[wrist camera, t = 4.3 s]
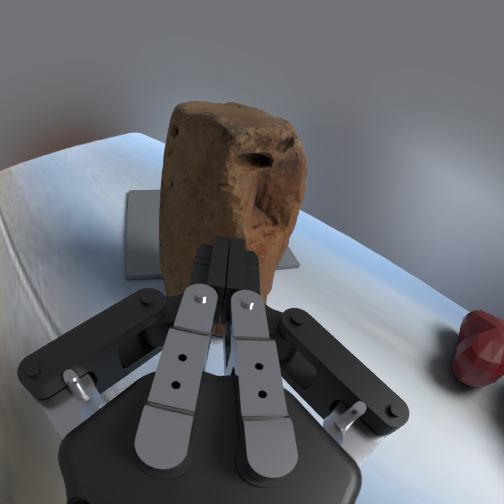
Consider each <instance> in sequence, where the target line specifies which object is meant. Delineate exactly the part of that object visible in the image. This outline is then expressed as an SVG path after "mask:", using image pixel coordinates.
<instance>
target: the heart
mask: <svg viewBox="0 0 504 504" xmlns="http://www.w3.org/2000/svg"><path fill="white" fill-rule="evenodd" d="M452 370H453V372H454V373H455V375H456V376H457V378H458V380H459V381H461V382H463V383H465V384H467V385H469V386H475V387H484V386H487V385H489V384H491V383H495V382H496V381H497V380H498V379H499V378H500V377H502V376H503V375H504V320H502V319H500V318H497V317H495V316H493V315H490V314H488V313H486V312H484V311H482V310H474V311H472V312H470V313H468V314H467V315H466V316H465V317H464V319H463V321H462V324H461V327H460V332H459V345H458V346H457V348H456V353H455V358H454V364H453V369H452Z"/></svg>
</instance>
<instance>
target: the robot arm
mask: <svg viewBox="0 0 504 504" xmlns="http://www.w3.org/2000/svg"><path fill="white" fill-rule="evenodd" d="M228 246H229V247H228ZM220 313H221V319H220ZM219 319H220V324H222V325H225V332H224V337H223V350H224V376H216V375H213V374H210V373H207V372H205V370H206V364H207V359H208V354H209V348H210V343H211V338H212V335H213V333H214V328H215V324H219ZM160 351H162V354H161V357H160V360H159V363H158V367H157V370H156V372H153V373H149V374H147V375H145V376H143V377H141V378H139V379H138V380H137V381H135V382H134V383H133V384H132V385H130V386H129V387H128V388H126V389H125V390H124V391H123V392H121V393H120V394H119V395H117V396H116V397H115V398H114V399H112V400H111V401H110V402H108V403H107V404H106V405H104V406H103V407H102V408H101V409H99V410H98V411H97V412H95V411H96V410H97V409H98V407H99V405H100V402H101V397H100V394H101V393H102V392H104V391H105V390H107V389H108V388H110V387H111V386H113V385H114V384H115V383H117V382H118V381H120V380H121V379H123V378H124V377H125V376H127V375H128V374H130V373H131V372H132V371H134V370H135V369H137V368H138V367H139V366H141V365H142V364H144V363H145V362H147V361H148V360H149V359H151V358H152V357H153V356H155V355H156V354H158V353H159V352H160ZM281 376H282V377H283V379H284V380H285V381H286V382H287V383H288V384H289V385H290V386H291V387H292V388H293V389H294V390H295V391H296V392H297V393H298V394H299V395H300V396H301V397H302V398H303V399H304V400H305V401H306V402H307V403H308V404H309V405H310V406H311V407H312V408H313V409H314V410H315V412H316V413H317V414H318V415H320V416H321V417H322V418H323V419H324V422H323V427H322V426H321V425H320V424H319V423H318V421H317V420H316V419H315V418H314V417H313V416H312V415H311V414H310V413H309V412H308V411H307V410H306V409H305V407H304V406H303V405H302V404H301V403H300V402H299V401H298V400H297V399H296V398H295V396H294V395H292V394H291V393H290V392H289V391H288V390H286V389H285V388H283V383H282V377H281ZM18 378H19V380H20V382H21V383H22V385H23V386H24V387H25V388H26V389H27V391H28V393H29V394H30V395H31V396H32V398H33V399H34V400H35V401H36V402H37V403H38V404H39V405H40V406H41V407H42V409H43V411H44V412H45V414H46V416H47V417H48V419H49V420H50V422H51V424H52V425H53V427H54V428H55V430H56V431H57V433H58V434H59V436H60V437H61V438H62V442H61V444H60V447H59V452H58V461H59V466H60V470H61V473H62V476H63V479H64V483H65V488H66V495H67V503H66V504H355V502H356V499H357V497H358V495H359V492H360V490H361V485H362V476H361V471H360V468H359V466H360V465H361V463H362V462H363V461H364V460H365V459H366V458H367V457H368V456H369V455H370V453H371V452H372V451H373V450H374V449H375V448H376V446H377V445H378V444H379V443H380V442H381V441H382V439H384V438H385V437H387V436H388V435H390V434H391V433H393V432H394V431H396V430H397V429H399V428H400V427H401V426H403V425H404V424H405V423H406V422H407V421H408V418H409V409H408V406H407V404H406V403H405V402H404V401H403V400H402V399H401V398H400V397H399V396H398V395H397V394H396V393H395V392H393V391H392V390H391V389H390V388H389V387H388V386H387V385H386V384H385V383H384V382H382V381H381V380H380V379H379V378H378V377H377V376H376V375H375V374H374V373H373V372H372V371H370V370H369V369H368V368H367V367H366V366H365V365H364V364H363V363H362V362H361V361H359V360H358V359H357V358H356V357H355V356H354V355H353V354H352V353H351V352H350V351H349V350H347V349H346V348H345V347H344V346H343V345H342V344H341V343H340V342H339V341H338V340H337V339H336V338H334V337H333V336H332V335H331V334H330V333H329V332H328V331H327V330H326V329H325V328H324V327H322V326H321V325H320V324H319V323H318V322H317V321H316V320H315V319H314V318H313V317H312V316H311V315H309V314H308V313H307V312H306V311H304V310H301V309H298V308H290V309H287V310H285V311H284V312H283V313H282V312H279V311H277V310H274V309H272V308H270V307H268V306H267V305H266V304H265V303H264V301H263V299H262V297H261V294H260V274H259V258H258V256H257V255H256V253H255V252H254V251H250V250H245V239H238V238H231V237H230V242H229V237H224V236H217V235H215V236H214V243H213V245H208V244H202V245H201V246H200V247H199V248H198V249H197V251H196V255H195V260H194V264H193V269H192V273H191V278H190V283H189V286H188V288H187V289H186V290H185V292H183V293H182V294H180V295H177V296H171V297H164V295H163V294H162V293H161V292H160V291H158V290H156V289H152V288H145V289H141V290H139V291H137V292H135V293H134V294H132V295H130V296H128V297H127V298H125V299H123V300H121V301H120V302H118V303H116V304H114V305H113V306H111V307H109V308H108V309H106V310H104V311H102V312H101V313H99V314H97V315H96V316H94V317H92V318H90V319H89V320H87V321H85V322H84V323H82V324H80V325H79V326H77V327H75V328H74V329H72V330H70V331H68V332H67V333H65V334H63V335H62V336H60V337H58V338H57V339H55V340H53V341H52V342H50V343H48V344H47V345H45V346H44V347H42V348H40V349H39V350H37V351H35V352H34V353H32V354H30V355H29V356H27V357H26V358H24V359H23V360H22V361H21V363H20V364H19V367H18ZM94 412H95V413H94ZM93 413H94V414H93ZM92 414H93V415H92Z"/></svg>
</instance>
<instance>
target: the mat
mask: <svg viewBox="0 0 504 504" xmlns="http://www.w3.org/2000/svg"><path fill="white" fill-rule="evenodd" d="M159 207H160V190H132V191H129V196H128V211H127V233H126V280H130V279H148V278H163V276H162V273H161V270H160V256H159ZM299 265H300V264H299V262H298V261H297V259H296V258H295V256H294V255H293V253H292V252H291V250H290V248H289V247H288V246H287V249H286V251H285V253H284V255H283V257H282V259H281V261H280V263H279V265H278V267H277V269H290V268H299ZM277 269H276V270H277Z"/></svg>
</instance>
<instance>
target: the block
mask: <svg viewBox="0 0 504 504" xmlns="http://www.w3.org/2000/svg"><path fill="white" fill-rule="evenodd" d="M306 176H307V166H306V156H305V152H304V149H303V146H302V144H301V143H300V140H299V137H298V135H297V133H296V131H295V129H294V127H293V126H292V125H291V124H290V123H289V122H288V121H286V120H284V119H282V118H274V117H273V116H271V115H270V114H269V113H267V112H265V111H263V110H260V109H257V108H253V107H249V106H246V105H242V104H238V103H233V102H228V103H225V104H221V103H210V102H203V101H191V102H185V103H180V104H178V105H177V106H176V107H175V108H174V111H173V113H172V116H171V119H170V124H169V129H168V134H167V139H166V145H165V151H164V159H163V169H162V180H161V189H160V207H159V256H160V270H161V273H162V276H163V279H164V282H165V286H166V293H167V296H168V297H171V296H177V295H180V294H182V293H183V292H185V290H186V289H187V288H188V286H189V283H190V278H191V273H192V269H193V264H194V260H195V255H196V251H197V249H198V248H199V247H200V246H201V245H202V244H208V245H213V243H214V236H215V235H217V236H224V237H229V242H230V237H231V238H238V239H245V250H250V251H254V252H255V253H256V255H257V256H258V258H259V274H260V294H261V297H262V299H263V301H264V303H265V304H266V302H267V294H269V292H270V291H271V289H272V284H273V277H274V272H275V270H276V269H277V267H278V265H279V263H280V261H281V259H282V257H283V255H284V253H285V251H286V249H287V246H288V244H289V238H290V236H291V234H292V232H293V230H294V228H295V224H296V221H297V217H298V214H299V210H300V207H301V205H302V201H303V198H304V194H305V188H306V186H305V179H306ZM228 247H229V246H228ZM220 319H221V313H220ZM220 319H219V324H215V328H214V333H213V335H216V336H224V332H225V325H222V324H220Z"/></svg>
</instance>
